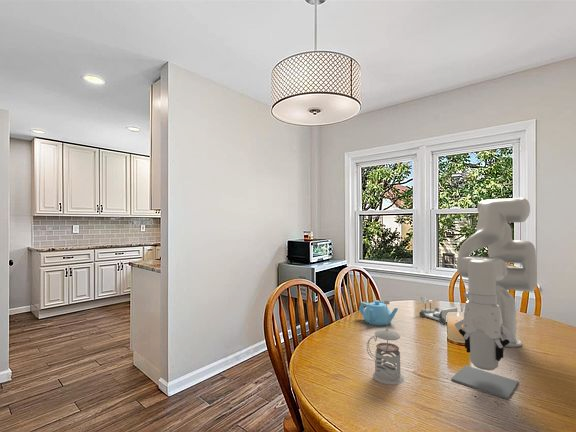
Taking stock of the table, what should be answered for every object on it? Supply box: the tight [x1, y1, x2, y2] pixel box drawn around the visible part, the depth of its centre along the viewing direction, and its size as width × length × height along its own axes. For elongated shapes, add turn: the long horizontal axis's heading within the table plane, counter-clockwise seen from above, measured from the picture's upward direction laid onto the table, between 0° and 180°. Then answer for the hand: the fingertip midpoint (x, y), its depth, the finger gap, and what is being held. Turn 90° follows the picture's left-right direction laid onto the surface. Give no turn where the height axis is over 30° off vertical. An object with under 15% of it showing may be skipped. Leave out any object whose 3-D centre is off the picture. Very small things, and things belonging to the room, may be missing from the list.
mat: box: [451, 365, 519, 401], centre depth 97 cm, size 13×15×1 cm
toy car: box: [418, 296, 458, 325], centre depth 162 cm, size 18×10×12 cm
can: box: [469, 329, 499, 371], centre depth 97 cm, size 8×8×12 cm
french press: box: [366, 299, 405, 386], centre depth 101 cm, size 10×12×25 cm
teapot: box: [358, 299, 399, 327], centre depth 156 cm, size 15×15×11 cm
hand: (483, 354), depth 97 cm, fingers closed on can, 7 cm apart
